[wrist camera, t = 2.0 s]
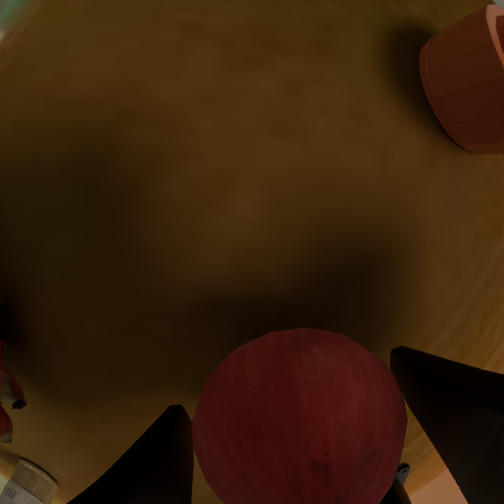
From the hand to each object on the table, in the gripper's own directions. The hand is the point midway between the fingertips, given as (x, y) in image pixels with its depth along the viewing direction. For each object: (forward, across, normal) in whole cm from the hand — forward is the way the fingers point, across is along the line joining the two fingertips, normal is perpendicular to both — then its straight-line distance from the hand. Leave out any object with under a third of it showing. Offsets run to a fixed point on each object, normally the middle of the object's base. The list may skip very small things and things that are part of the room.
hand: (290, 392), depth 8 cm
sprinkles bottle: (+2, +24, +11) cm, 26 cm away
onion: (+2, 0, 0) cm, 2 cm away
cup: (+2, -11, -9) cm, 14 cm away
